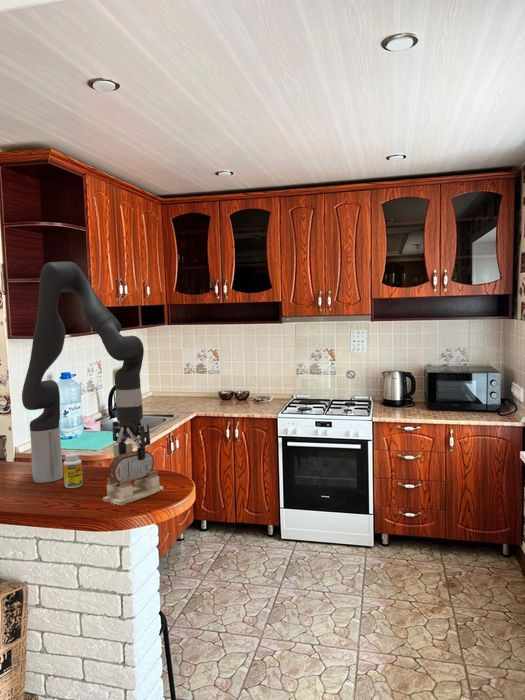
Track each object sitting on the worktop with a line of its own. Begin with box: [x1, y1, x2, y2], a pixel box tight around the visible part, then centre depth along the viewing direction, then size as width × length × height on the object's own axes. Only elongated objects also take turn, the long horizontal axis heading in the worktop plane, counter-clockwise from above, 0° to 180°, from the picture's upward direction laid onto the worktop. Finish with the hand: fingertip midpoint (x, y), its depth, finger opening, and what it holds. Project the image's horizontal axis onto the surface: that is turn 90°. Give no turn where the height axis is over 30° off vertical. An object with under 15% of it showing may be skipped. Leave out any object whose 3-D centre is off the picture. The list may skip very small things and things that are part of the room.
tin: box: [108, 450, 155, 484], centre depth 157 cm, size 15×3×8 cm, turn 141°
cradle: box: [102, 469, 165, 507], centre depth 157 cm, size 8×16×6 cm, turn 142°
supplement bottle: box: [62, 452, 84, 489], centre depth 169 cm, size 6×6×10 cm
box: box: [112, 441, 134, 459], centre depth 179 cm, size 5×4×11 cm
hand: (132, 457), depth 157 cm, fingers open, 8 cm apart
